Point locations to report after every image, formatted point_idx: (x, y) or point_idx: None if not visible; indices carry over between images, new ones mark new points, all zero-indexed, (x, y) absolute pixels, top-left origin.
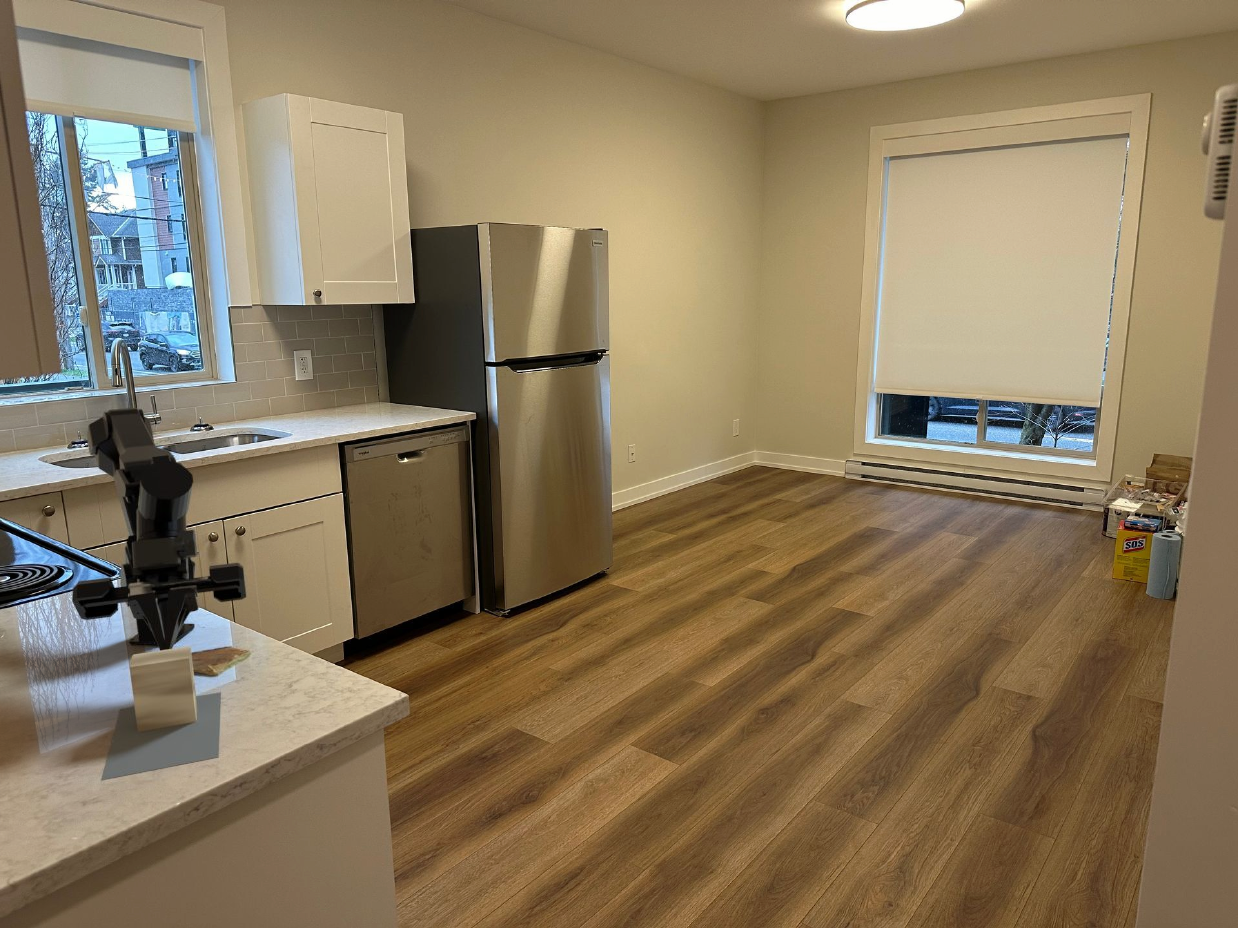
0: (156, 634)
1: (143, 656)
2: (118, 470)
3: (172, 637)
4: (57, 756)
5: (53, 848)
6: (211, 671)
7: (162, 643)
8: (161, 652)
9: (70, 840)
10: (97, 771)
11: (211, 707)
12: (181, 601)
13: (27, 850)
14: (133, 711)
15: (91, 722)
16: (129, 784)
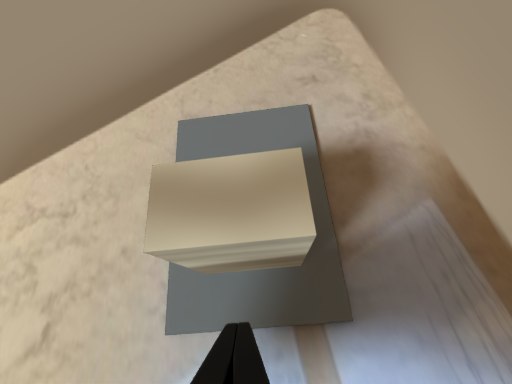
0: (258, 378)
1: (278, 209)
2: None
3: (201, 367)
4: (398, 183)
5: (318, 26)
6: None
7: (240, 345)
8: (228, 226)
9: (306, 33)
10: (322, 133)
11: (183, 268)
12: None
13: (340, 27)
14: (321, 298)
15: (394, 290)
16: (274, 100)
